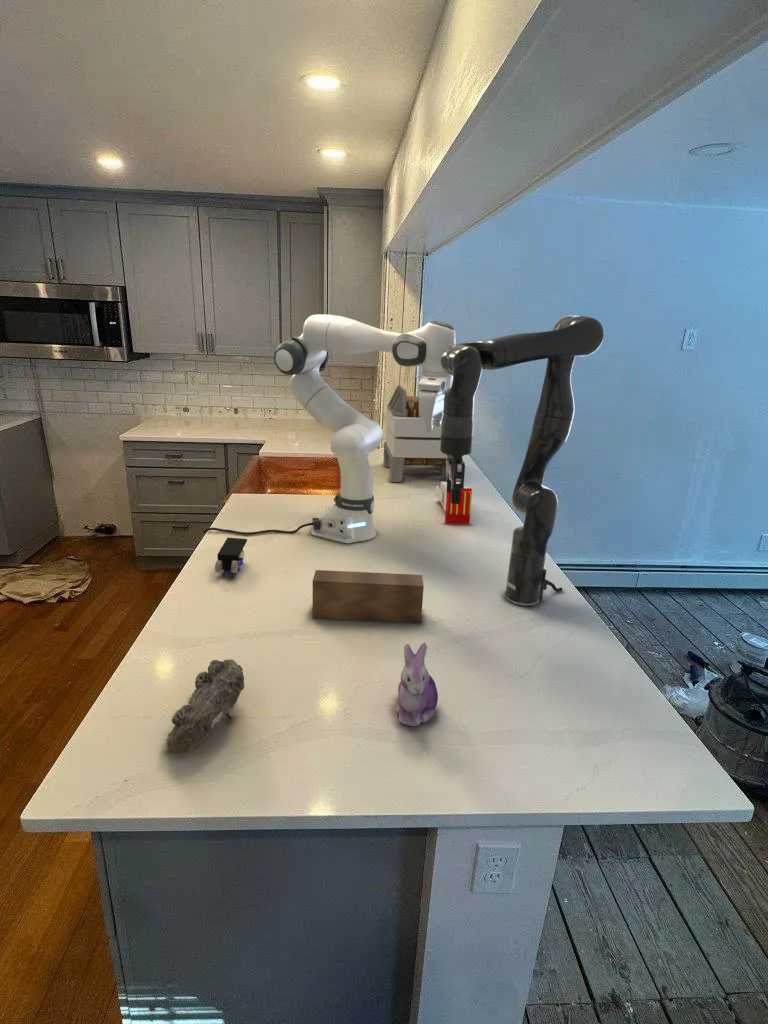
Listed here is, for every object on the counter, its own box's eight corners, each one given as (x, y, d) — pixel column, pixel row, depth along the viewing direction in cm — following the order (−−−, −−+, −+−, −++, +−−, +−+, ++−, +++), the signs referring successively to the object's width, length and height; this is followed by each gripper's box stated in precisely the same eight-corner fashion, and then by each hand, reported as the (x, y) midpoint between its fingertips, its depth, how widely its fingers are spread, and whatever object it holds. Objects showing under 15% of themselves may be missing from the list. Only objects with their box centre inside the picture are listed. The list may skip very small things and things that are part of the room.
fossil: (192, 660, 117) (244, 628, 112) (224, 691, 120) (276, 661, 115) (142, 746, 98) (202, 712, 93) (182, 779, 101) (242, 748, 96)
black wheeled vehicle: (238, 584, 162) (249, 557, 175) (236, 562, 158) (247, 536, 172) (215, 584, 161) (227, 556, 175) (212, 561, 158) (225, 535, 171)
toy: (463, 477, 236) (476, 489, 206) (461, 509, 239) (474, 525, 209) (433, 476, 235) (443, 488, 206) (432, 508, 238) (441, 524, 209)
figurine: (408, 735, 105) (412, 667, 100) (382, 702, 114) (386, 638, 109) (450, 721, 110) (457, 654, 105) (423, 690, 118) (428, 627, 113)
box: (312, 617, 144) (312, 580, 140) (315, 605, 150) (315, 569, 146) (420, 622, 144) (423, 585, 140) (419, 610, 150) (422, 574, 146)
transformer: (382, 463, 289) (386, 382, 275) (445, 464, 293) (451, 384, 279) (390, 482, 257) (394, 392, 243) (460, 483, 261) (468, 394, 247)
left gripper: (436, 377, 173) (432, 421, 178) (416, 383, 155) (412, 433, 160) (456, 378, 171) (452, 424, 176) (438, 385, 153) (434, 436, 158)
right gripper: (478, 440, 127) (473, 507, 133) (468, 426, 141) (463, 488, 146) (444, 439, 127) (441, 507, 133) (437, 426, 141) (434, 488, 146)
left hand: (433, 428), depth 168 cm, fingers open, 8 cm apart
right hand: (453, 497), depth 140 cm, fingers open, 8 cm apart
